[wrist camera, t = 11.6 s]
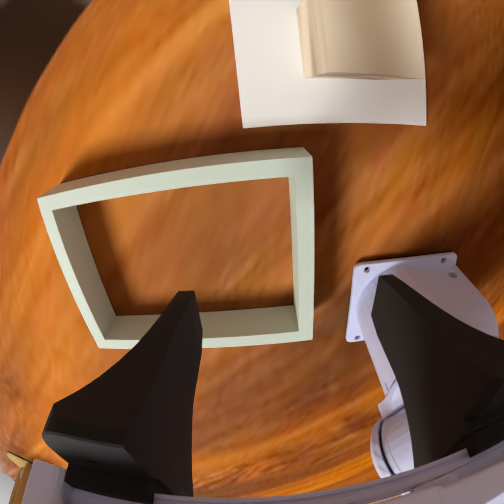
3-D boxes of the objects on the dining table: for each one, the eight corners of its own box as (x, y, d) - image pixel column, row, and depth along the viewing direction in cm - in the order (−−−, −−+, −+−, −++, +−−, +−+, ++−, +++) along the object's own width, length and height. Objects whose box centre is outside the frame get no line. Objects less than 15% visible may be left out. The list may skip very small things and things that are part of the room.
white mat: (411, -11, 12) (414, -12, 12) (423, 125, 17) (426, 125, 17) (226, -22, 13) (226, -24, 12) (243, 127, 17) (243, 128, 17)
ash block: (368, 13, 13) (414, -10, 8) (375, 80, 15) (425, 79, 10) (295, 9, 13) (316, -25, 8) (303, 78, 16) (329, 72, 10)
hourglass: (69, 490, 67) (57, 545, 45) (15, 465, 63) (-1, 516, 41) (60, 475, 56) (43, 543, 35) (-3, 443, 52) (-24, 504, 30)
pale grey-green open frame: (302, 147, 18) (312, 156, 15) (306, 313, 24) (312, 339, 22) (59, 183, 19) (37, 198, 16) (110, 324, 25) (99, 347, 22)
